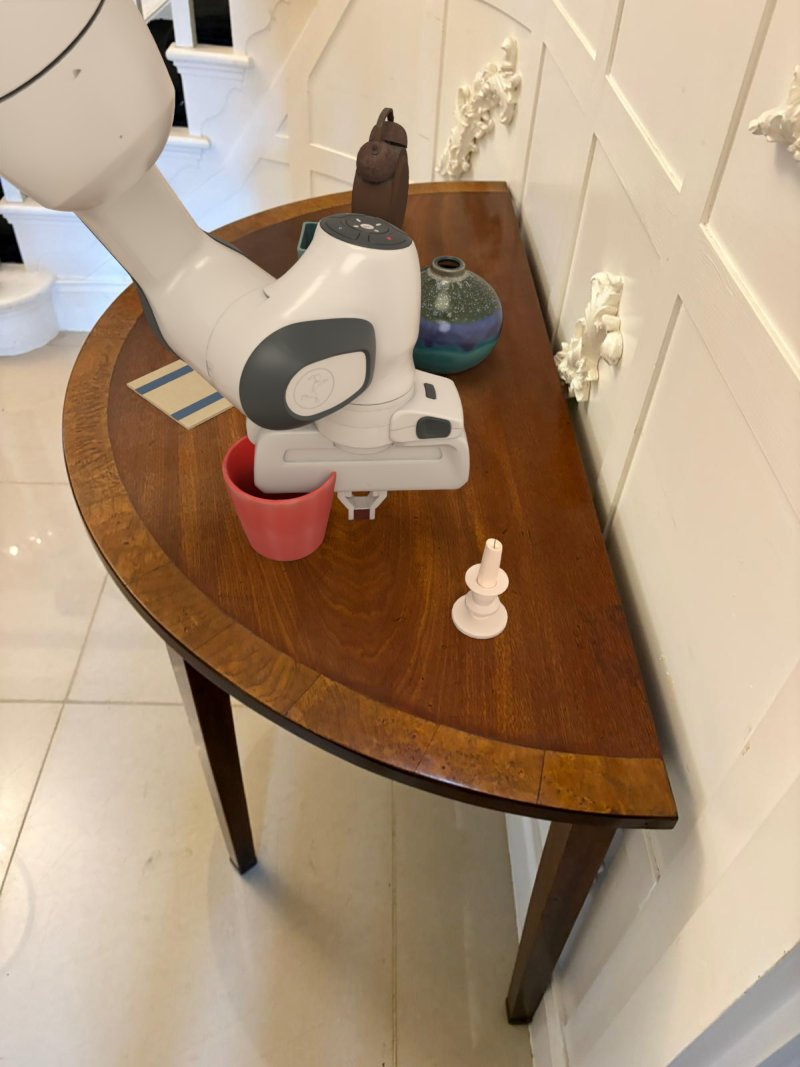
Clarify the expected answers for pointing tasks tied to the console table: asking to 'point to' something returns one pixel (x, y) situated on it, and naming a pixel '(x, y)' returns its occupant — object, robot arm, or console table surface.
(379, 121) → the brown flask
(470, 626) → the candle
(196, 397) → the cloth
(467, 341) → the vase
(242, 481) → the flower pot
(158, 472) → the console table surface
